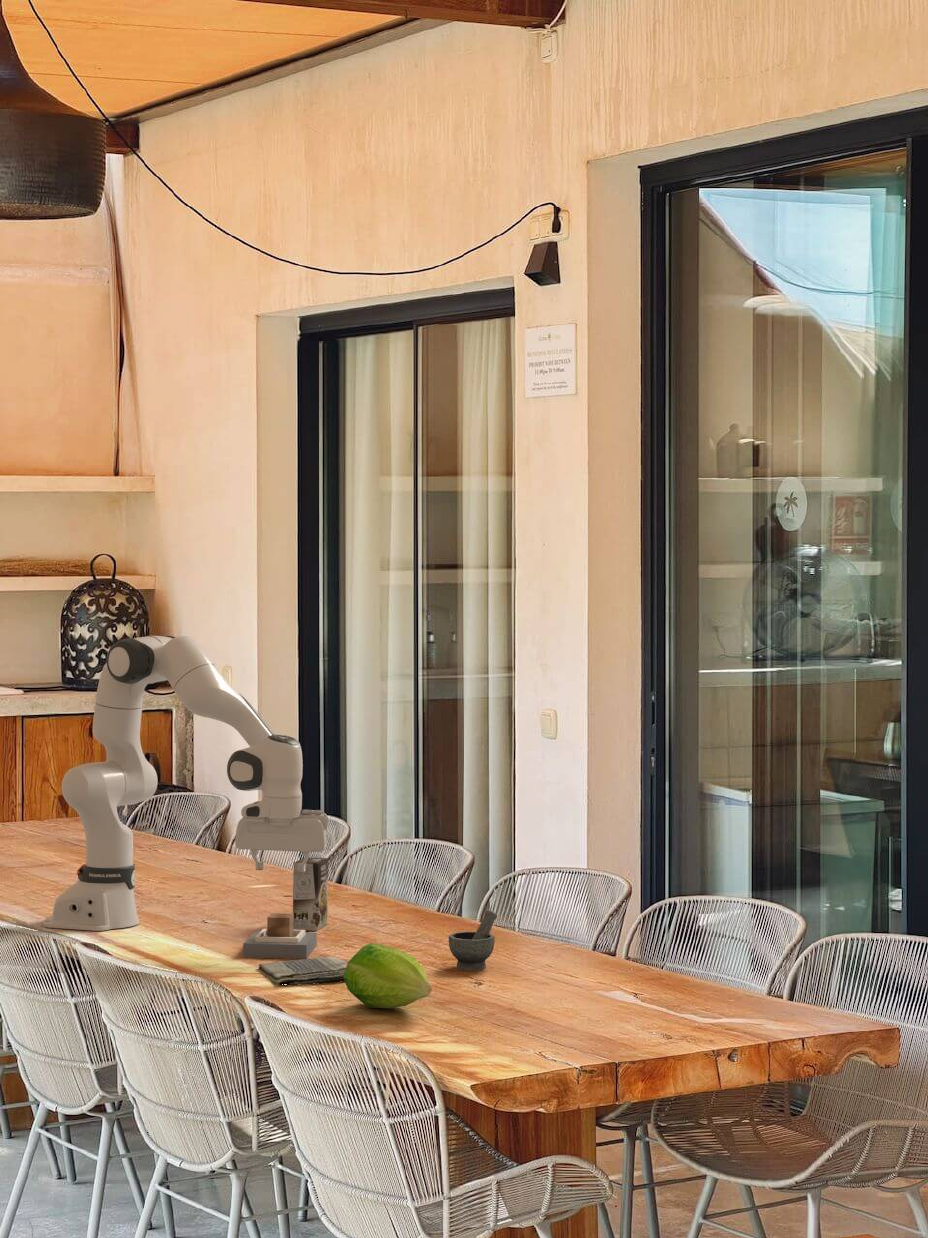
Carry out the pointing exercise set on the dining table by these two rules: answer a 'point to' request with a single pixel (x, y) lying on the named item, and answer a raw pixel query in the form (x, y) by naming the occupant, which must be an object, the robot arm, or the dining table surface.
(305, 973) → the dish towel
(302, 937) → the plinth
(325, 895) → the coffee box
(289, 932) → the walnut block
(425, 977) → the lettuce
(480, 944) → the mortar and pestle
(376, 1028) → the dining table surface
